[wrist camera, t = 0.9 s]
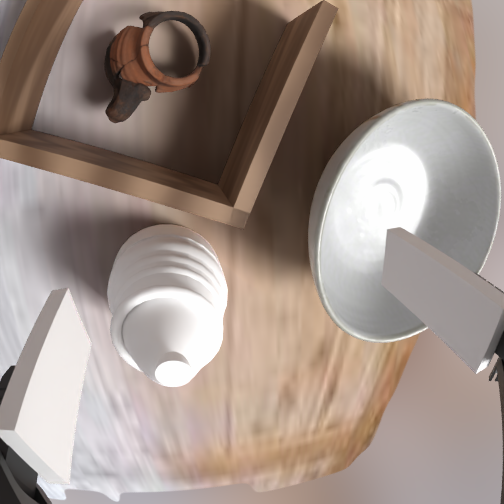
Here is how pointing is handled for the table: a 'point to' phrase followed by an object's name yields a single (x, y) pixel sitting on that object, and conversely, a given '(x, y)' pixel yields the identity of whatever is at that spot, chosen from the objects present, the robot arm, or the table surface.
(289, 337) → the table surface
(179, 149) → the table surface
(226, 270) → the table surface
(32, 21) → the walnut u-shaped frame
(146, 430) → the table surface
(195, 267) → the honey pot
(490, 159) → the decorative bowl
